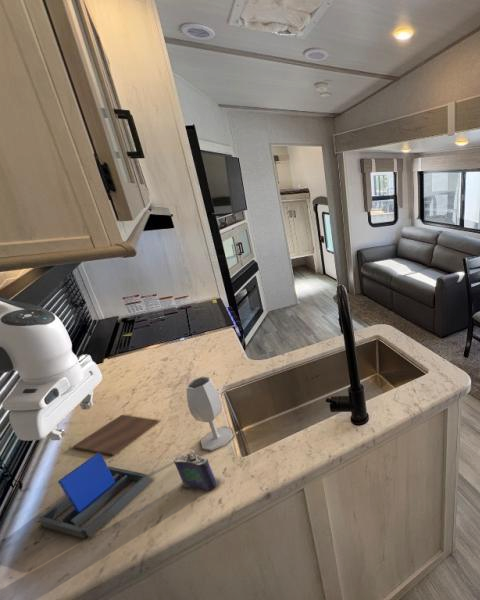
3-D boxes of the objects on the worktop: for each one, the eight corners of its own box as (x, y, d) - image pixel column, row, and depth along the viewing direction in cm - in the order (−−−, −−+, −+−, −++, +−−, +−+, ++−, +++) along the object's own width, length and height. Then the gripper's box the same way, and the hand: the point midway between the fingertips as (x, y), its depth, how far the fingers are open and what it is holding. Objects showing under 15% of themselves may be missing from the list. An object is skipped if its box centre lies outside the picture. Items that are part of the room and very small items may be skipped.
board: (74, 448, 94) (73, 446, 94) (122, 417, 107) (121, 414, 107) (113, 456, 91) (112, 453, 90) (158, 422, 103) (157, 420, 103)
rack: (41, 526, 72) (36, 519, 71) (110, 472, 85) (107, 465, 84) (87, 540, 68) (82, 532, 67) (151, 481, 82) (148, 474, 81)
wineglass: (238, 436, 95) (221, 379, 88) (209, 456, 88) (188, 395, 81) (224, 425, 100) (206, 370, 93) (195, 443, 93) (174, 385, 86)
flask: (181, 488, 79) (168, 456, 76) (191, 478, 82) (178, 446, 78) (212, 492, 77) (200, 460, 74) (221, 482, 80) (210, 450, 76)
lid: (79, 518, 73) (57, 481, 69) (115, 487, 80) (97, 452, 76) (83, 519, 73) (61, 482, 69) (119, 488, 80) (101, 453, 76)
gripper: (72, 350, 78) (88, 392, 84) (-7, 411, 60) (20, 459, 65) (101, 350, 79) (116, 391, 85) (33, 409, 61) (56, 456, 67)
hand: (74, 421), depth 75 cm, fingers open, 8 cm apart
